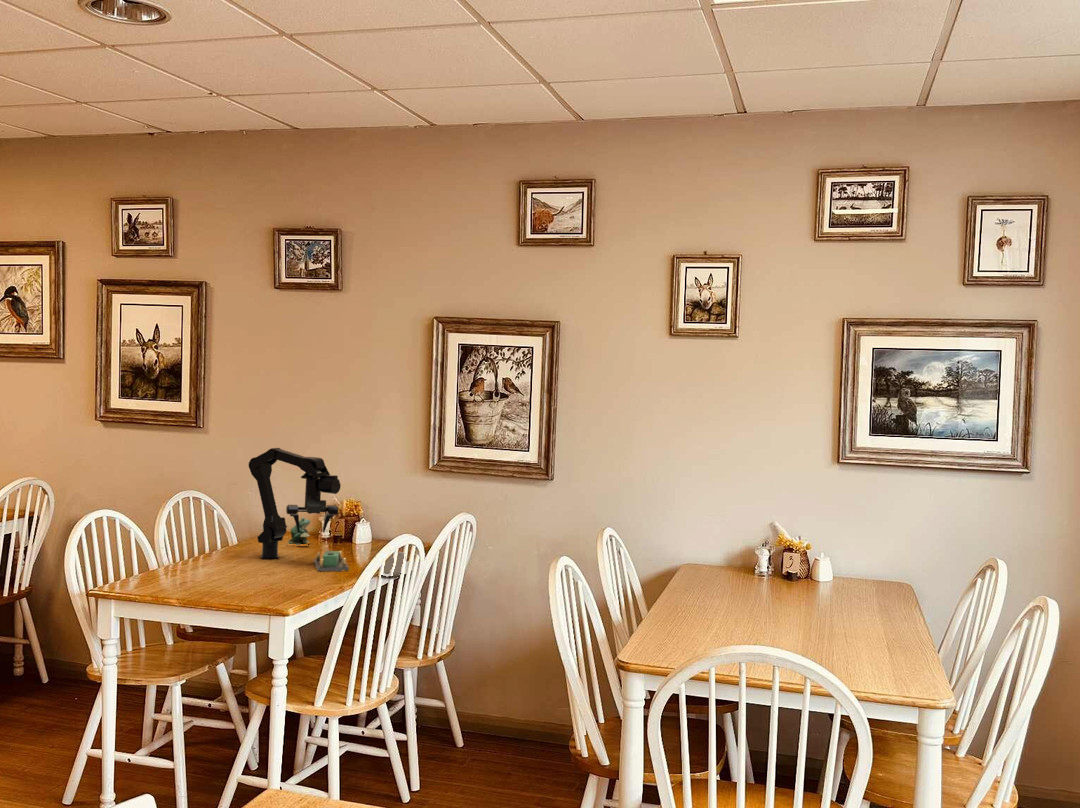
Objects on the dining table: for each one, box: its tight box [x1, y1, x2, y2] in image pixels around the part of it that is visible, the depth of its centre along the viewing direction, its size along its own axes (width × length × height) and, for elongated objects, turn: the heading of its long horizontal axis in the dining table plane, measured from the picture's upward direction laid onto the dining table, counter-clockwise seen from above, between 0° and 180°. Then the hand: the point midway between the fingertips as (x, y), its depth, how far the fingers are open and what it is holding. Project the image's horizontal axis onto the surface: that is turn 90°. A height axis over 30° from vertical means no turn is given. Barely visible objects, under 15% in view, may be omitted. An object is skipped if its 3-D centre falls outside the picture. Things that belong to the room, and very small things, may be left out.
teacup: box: [374, 551, 405, 578], centre depth 350 cm, size 14×11×8 cm
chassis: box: [313, 550, 350, 572], centre depth 359 cm, size 17×11×4 cm, turn 18°
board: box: [322, 550, 340, 566], centre depth 359 cm, size 10×5×4 cm, turn 7°
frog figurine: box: [287, 517, 312, 545], centre depth 399 cm, size 18×18×12 cm
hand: (311, 532), depth 364 cm, fingers open, 9 cm apart
